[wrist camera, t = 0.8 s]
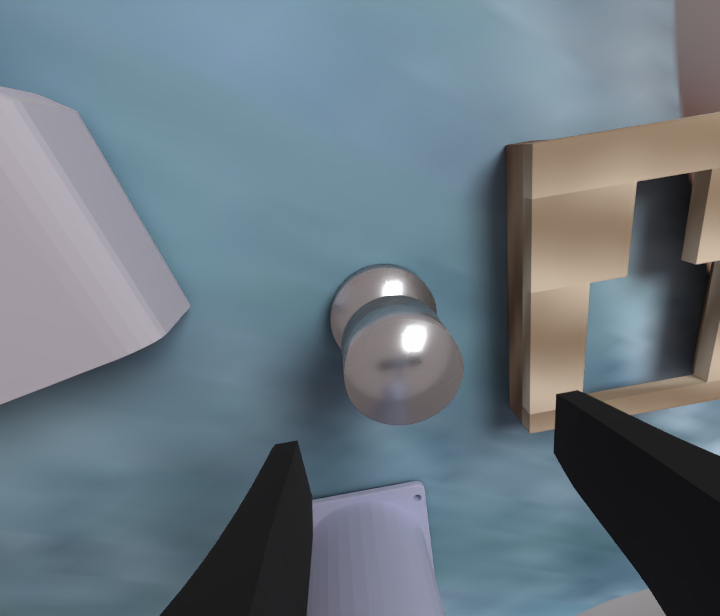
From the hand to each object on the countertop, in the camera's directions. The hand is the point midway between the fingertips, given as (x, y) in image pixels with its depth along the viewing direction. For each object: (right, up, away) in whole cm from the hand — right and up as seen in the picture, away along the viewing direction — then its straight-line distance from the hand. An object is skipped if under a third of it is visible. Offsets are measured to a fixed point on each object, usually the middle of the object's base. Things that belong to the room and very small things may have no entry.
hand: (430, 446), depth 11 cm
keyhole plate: (+11, +6, +9) cm, 16 cm away
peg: (-1, +4, +9) cm, 10 cm away
